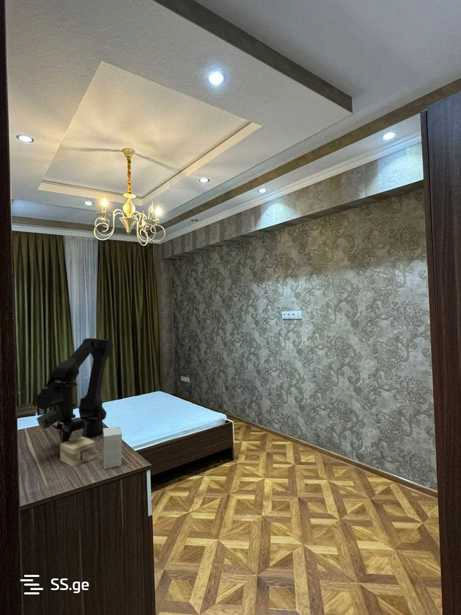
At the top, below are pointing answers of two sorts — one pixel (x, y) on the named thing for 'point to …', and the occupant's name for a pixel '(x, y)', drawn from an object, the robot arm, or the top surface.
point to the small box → (112, 447)
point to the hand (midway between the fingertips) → (64, 445)
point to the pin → (84, 453)
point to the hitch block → (77, 450)
